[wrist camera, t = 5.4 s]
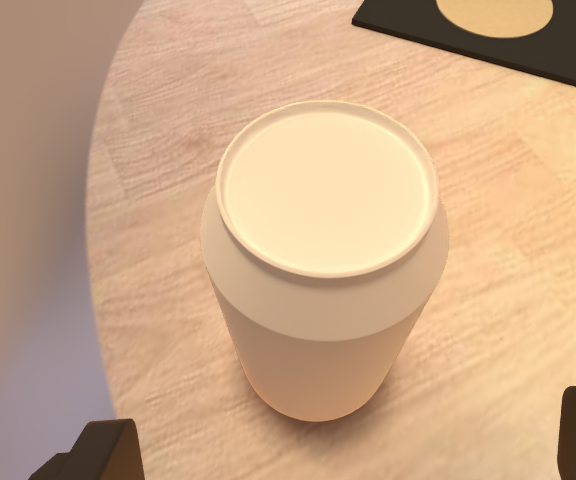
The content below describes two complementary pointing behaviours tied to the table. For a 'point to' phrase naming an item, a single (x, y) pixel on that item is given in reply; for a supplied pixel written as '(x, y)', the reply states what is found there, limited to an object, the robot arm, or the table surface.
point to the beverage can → (323, 251)
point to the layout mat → (486, 30)
